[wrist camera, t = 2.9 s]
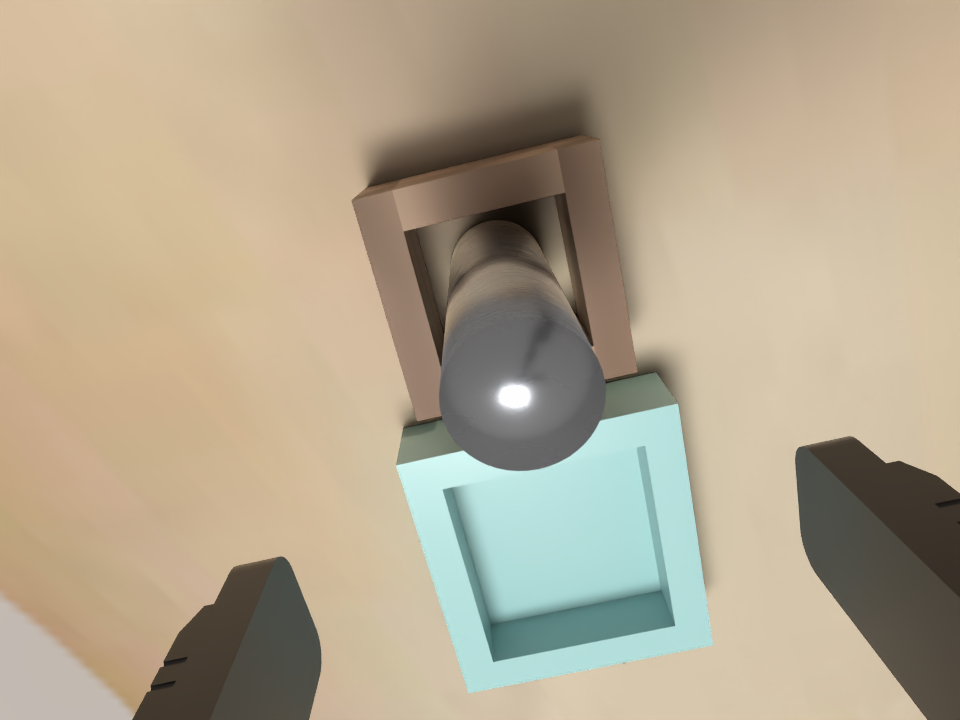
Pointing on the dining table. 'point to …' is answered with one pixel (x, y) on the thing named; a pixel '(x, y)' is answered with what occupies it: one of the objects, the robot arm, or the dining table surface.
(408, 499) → the tray
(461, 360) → the pin
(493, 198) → the holder
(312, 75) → the dining table surface
